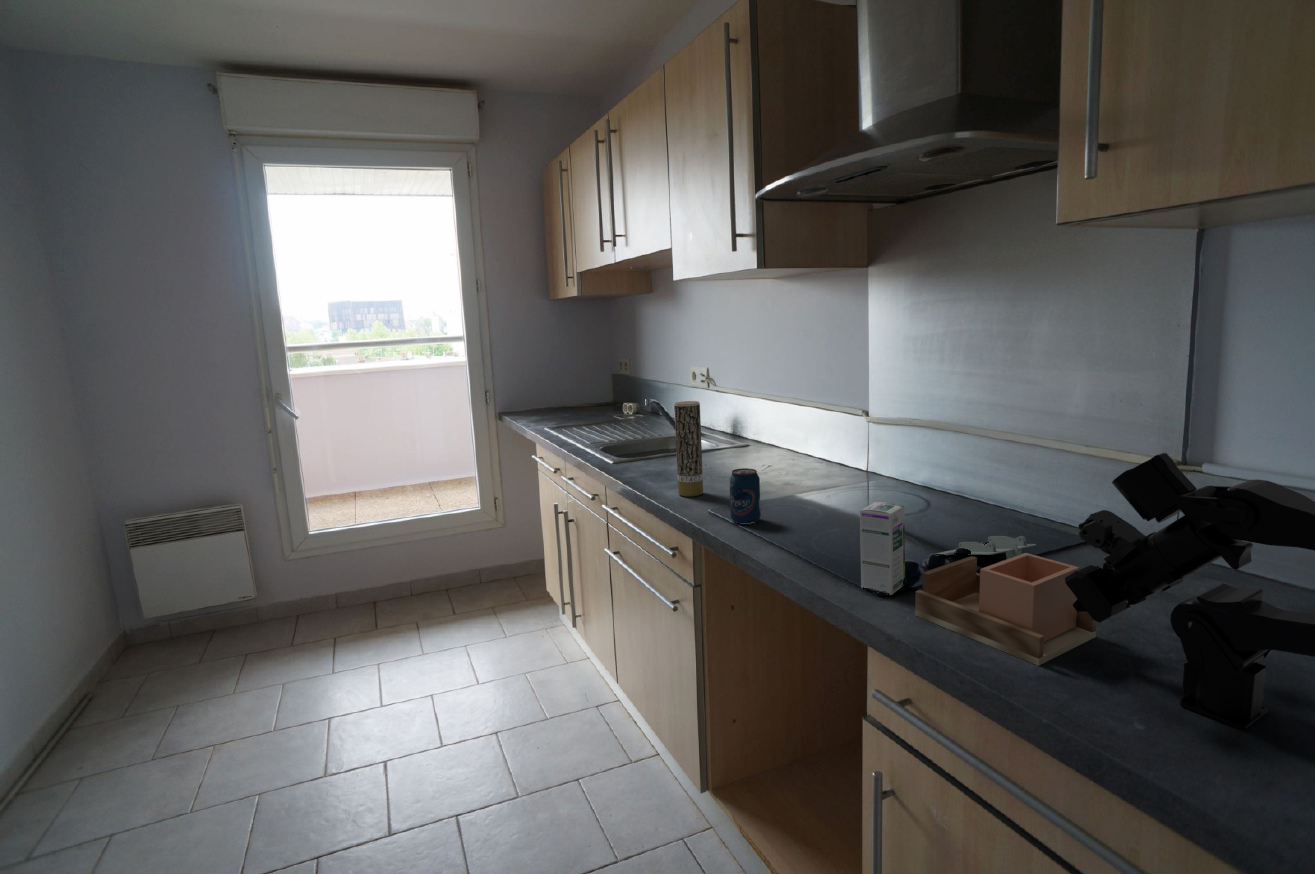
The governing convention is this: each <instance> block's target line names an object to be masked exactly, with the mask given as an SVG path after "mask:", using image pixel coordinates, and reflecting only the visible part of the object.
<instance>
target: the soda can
mask: <svg viewBox="0 0 1315 874" xmlns="http://www.w3.org/2000/svg"><path fill="white" fill-rule="evenodd" d="M729 476H730V477H729V504H730V505H729V506H730V507H729V508H730V510H729V511H730V518H731V520H732V521H733V523H734V522H737V523H751V522H757V521H758V522H759V520H760V518H761V485H760V484H761V483H760V476H759V475H758V471H757V470H756V469H754V468H737V469H733V470H731V475H729ZM758 522H757V523H758Z"/></svg>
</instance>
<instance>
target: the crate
mask: <svg viewBox="0 0 1315 874" xmlns="http://www.w3.org/2000/svg"><path fill="white" fill-rule="evenodd" d="M1077 570H1080V567H1079V566H1075V565H1073V564H1072V565H1071V564H1068V563H1064V562H1061V561H1057V560H1054V559H1050V558H1046V557H1042V556H1039V555H1035V554H1031V553H1028V552H1024V553H1022V554H1021V555H1018V556H1015V557H1012V558H1011V557H1010V559H1007V558H1006V559H1004V560H1001V561H998V562H996V563H993V564H990V565H988V566H985V567H982V568H980V570H979V574H980V597H979V612H981V613H984V614H986V615H989V616H992V617H995V618H997V619H1000V620H1003V621H1005V622H1008V623H1011V624H1013V625H1016V626H1019V627H1022V628H1024V629H1027V630H1030V631H1032V632H1035V633H1038V634H1041V635H1043V636H1044V642H1045V641H1047V640H1049V639H1051V638H1053V637H1055V636H1057V635H1059V634H1062V633H1064V632H1066V631H1068V630H1070V629H1072V628H1074V627H1076V618H1077V611H1076V609H1075V608H1074V607H1073V603H1074V602H1075V601H1076V600H1077V598H1076V596H1075V595H1074V594H1073V592H1072V591H1071V590H1070V588H1069V587H1068V586H1067V584H1066V583H1065V578H1066V577H1067V576H1069V575H1070V574H1072V573H1074V572H1075V571H1077Z"/></svg>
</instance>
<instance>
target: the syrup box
mask: <svg viewBox="0 0 1315 874" xmlns="http://www.w3.org/2000/svg"><path fill="white" fill-rule="evenodd" d="M905 509H906V508H905V506H904V505H902V504H897V503H892V502H881V501H878V502H877V501H873V502H872V503H871V504H869V505H867V506H865V507H863V508H862V509H860V510H859V526H860V527H859V529H860V530H859V535H860V536H859V537H860V586H861V589H863V587H864V588H873V589H876V590H879V591H886V592H887V593H889V596H893V595H894V594H895V593H896V592H898V591H899V590H900V589H901V588H902V587H903V586H904V585H903V580H904V578H905V579H906V545H905V544H906V534H905V533H906V532H905V531H906V530H905V529H906V528H905V526H906V525H905V523H906V522H905V521H906V519H905V518H906V517H905V516H906V513H905ZM902 585H903V586H902Z"/></svg>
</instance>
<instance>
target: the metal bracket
mask: <svg viewBox="0 0 1315 874" xmlns="http://www.w3.org/2000/svg"><path fill="white" fill-rule="evenodd" d="M988 541H989V543H988ZM986 543H987V544H985V543H981V542H978V541H961V542H959V543H958V549H959V548H965V549H968V550H970V551H971V554H970V555H977V556H979V555H988V556H990V555H991V556H993V555H996V554H1001V553H1005V557H1006V560H1007V559H1010V558H1012V557H1015V556H1018V555H1021V554H1023V550H1022V549H1025V548H1030V547H1031V548H1032V547H1035V546H1037V544H1036V543H1027V540H1026V537H1025V536H1024V535H1020V536H1017V537H1015V538H1014V537H1010V536H1007V535H990V536H988V537H987V542H986ZM984 544H985V545H984ZM956 549H957V548H956ZM956 549H951V550H945V551H942V552H937V553H935V554H944V555H946V556H951V555H955V554H954V552H955V551H956Z"/></svg>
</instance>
